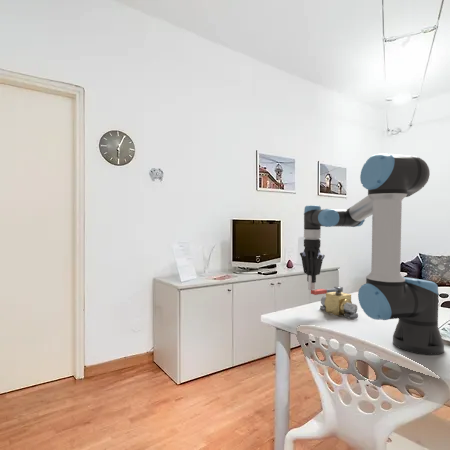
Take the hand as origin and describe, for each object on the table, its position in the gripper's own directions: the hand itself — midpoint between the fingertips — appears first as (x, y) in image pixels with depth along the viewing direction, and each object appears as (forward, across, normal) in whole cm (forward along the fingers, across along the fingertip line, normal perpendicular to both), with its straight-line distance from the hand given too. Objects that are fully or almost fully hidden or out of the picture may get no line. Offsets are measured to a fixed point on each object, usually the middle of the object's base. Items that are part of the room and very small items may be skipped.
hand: (311, 289), depth 153 cm
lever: (+1, -6, -4) cm, 7 cm away
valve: (+11, -6, -11) cm, 17 cm away
